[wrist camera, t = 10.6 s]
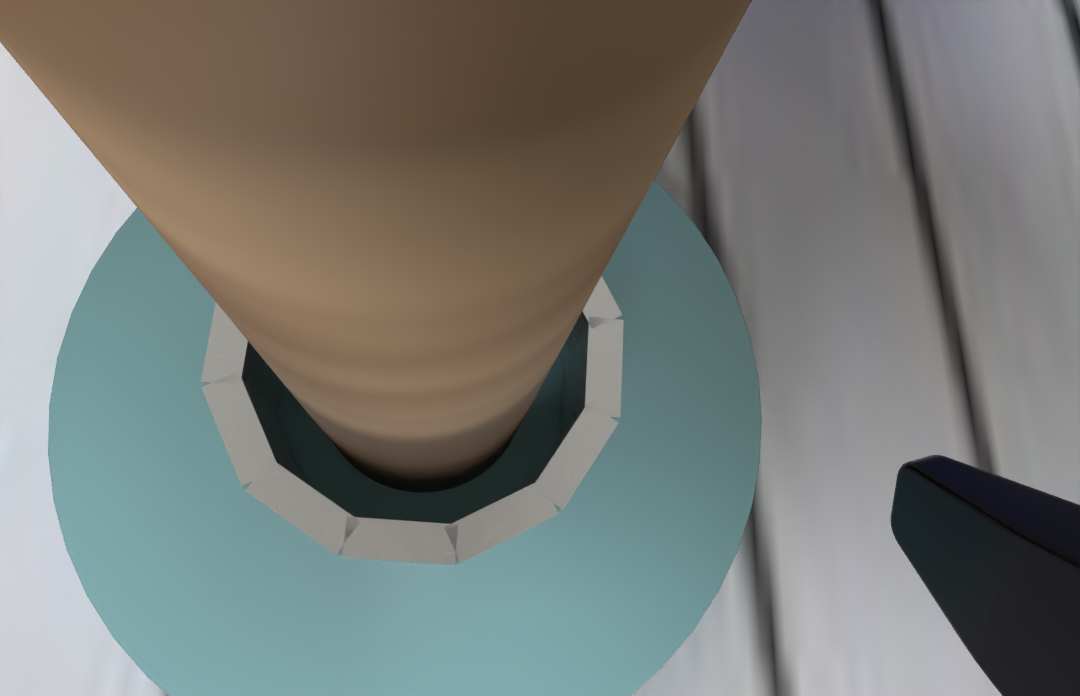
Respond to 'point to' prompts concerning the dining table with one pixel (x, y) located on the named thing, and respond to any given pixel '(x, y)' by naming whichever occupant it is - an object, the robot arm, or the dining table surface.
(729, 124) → the dining table surface
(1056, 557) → the robot arm
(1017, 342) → the dining table surface
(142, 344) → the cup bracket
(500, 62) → the dowel
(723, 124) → the dining table surface
